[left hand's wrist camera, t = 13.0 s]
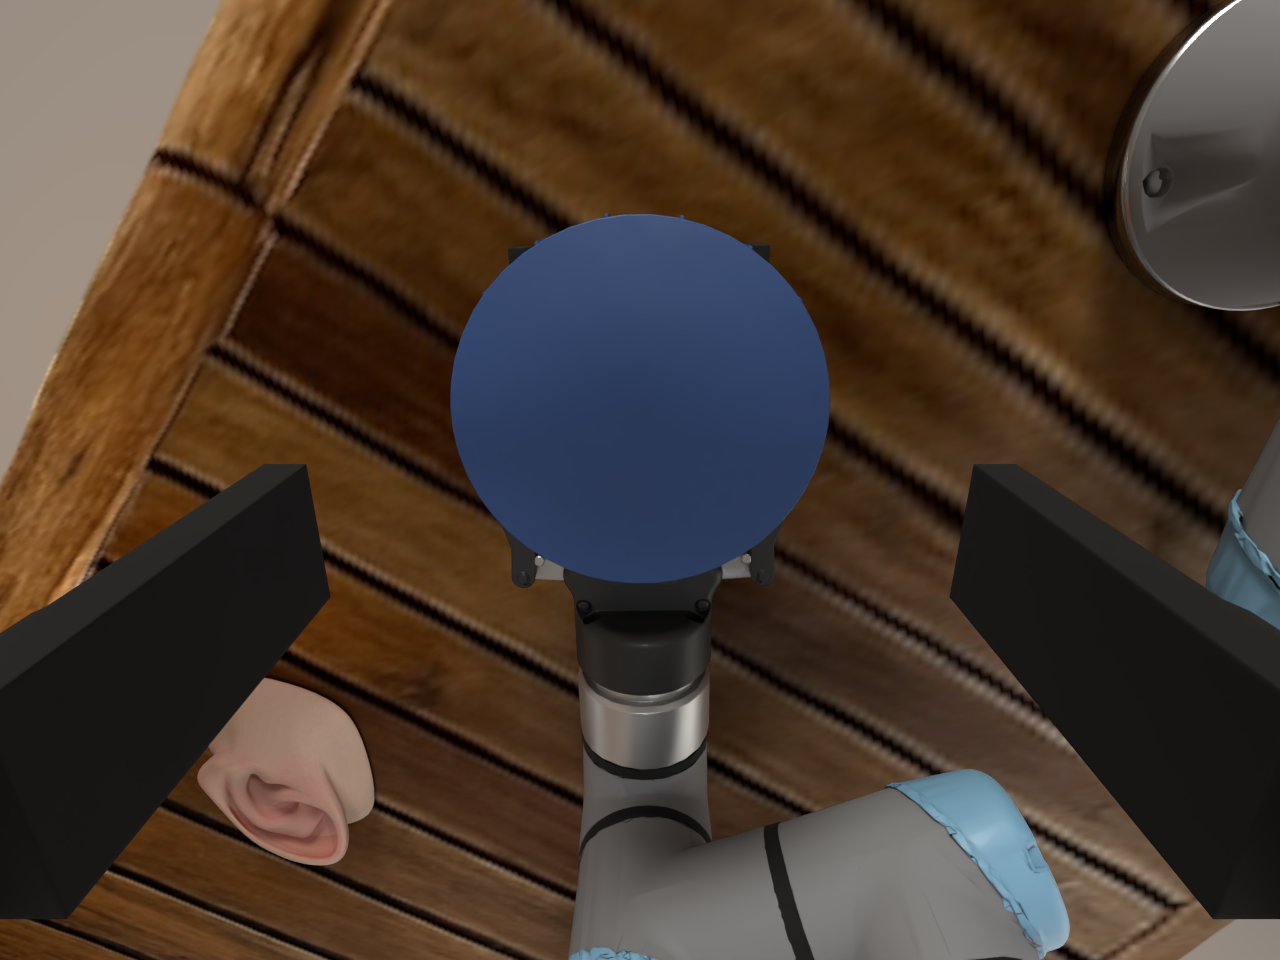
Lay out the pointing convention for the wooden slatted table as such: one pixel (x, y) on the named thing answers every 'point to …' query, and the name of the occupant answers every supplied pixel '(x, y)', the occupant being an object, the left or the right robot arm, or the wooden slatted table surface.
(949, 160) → the wooden slatted table surface
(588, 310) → the lid
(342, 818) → the anatomical model
